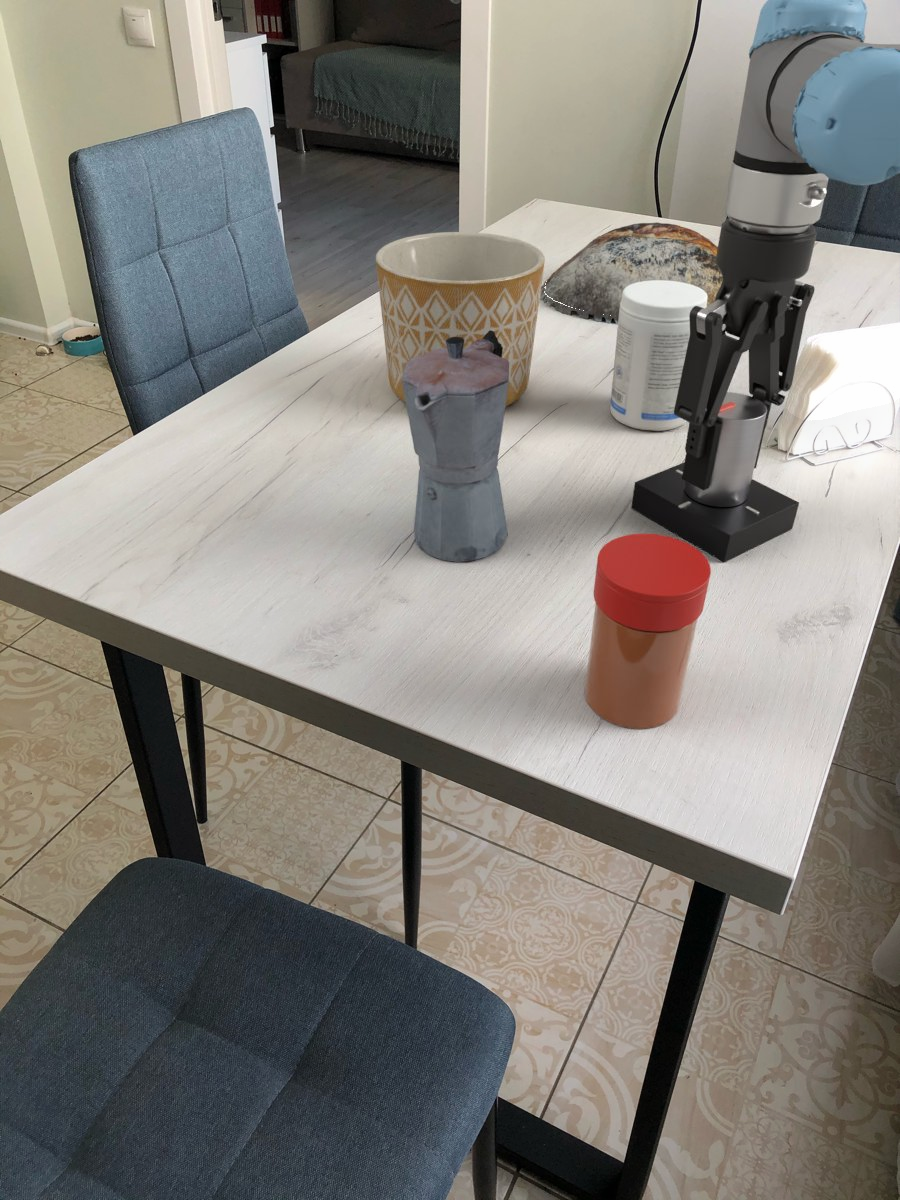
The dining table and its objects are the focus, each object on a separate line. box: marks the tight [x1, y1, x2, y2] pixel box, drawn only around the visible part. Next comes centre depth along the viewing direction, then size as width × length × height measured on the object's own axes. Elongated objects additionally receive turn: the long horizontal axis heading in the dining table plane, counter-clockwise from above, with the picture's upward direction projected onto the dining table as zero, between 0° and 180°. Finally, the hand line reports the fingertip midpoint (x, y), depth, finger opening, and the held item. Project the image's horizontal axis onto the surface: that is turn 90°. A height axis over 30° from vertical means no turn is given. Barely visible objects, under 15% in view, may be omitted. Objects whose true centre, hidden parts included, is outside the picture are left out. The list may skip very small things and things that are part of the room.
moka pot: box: [402, 330, 509, 563], centre depth 84 cm, size 10×15×20 cm, turn 157°
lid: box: [593, 533, 712, 632], centre depth 65 cm, size 8×8×3 cm
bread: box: [539, 221, 723, 325], centre depth 143 cm, size 27×32×10 cm
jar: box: [584, 602, 698, 730], centre depth 68 cm, size 7×7×12 cm
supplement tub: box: [609, 280, 708, 432], centre depth 107 cm, size 10×10×15 cm
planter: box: [375, 231, 546, 408], centre depth 112 cm, size 19×19×16 cm
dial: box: [685, 391, 767, 507], centre depth 88 cm, size 6×6×9 cm
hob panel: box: [630, 461, 800, 563], centre depth 92 cm, size 12×10×3 cm
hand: (719, 472), depth 90 cm, fingers closed on dial, 6 cm apart
